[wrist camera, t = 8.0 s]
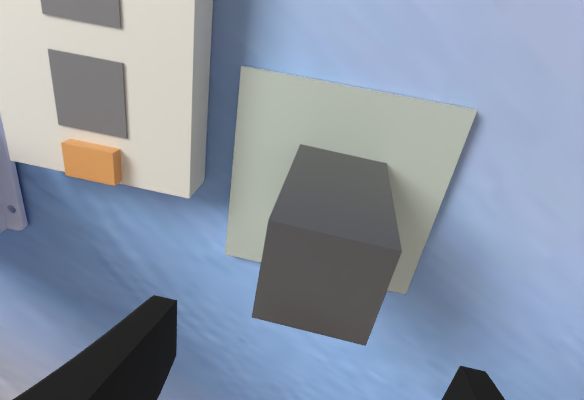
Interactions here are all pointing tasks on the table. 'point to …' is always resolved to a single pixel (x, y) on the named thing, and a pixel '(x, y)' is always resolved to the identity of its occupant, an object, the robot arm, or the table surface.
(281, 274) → the charger
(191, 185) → the power strip
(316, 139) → the mat
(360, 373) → the table surface
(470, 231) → the table surface
